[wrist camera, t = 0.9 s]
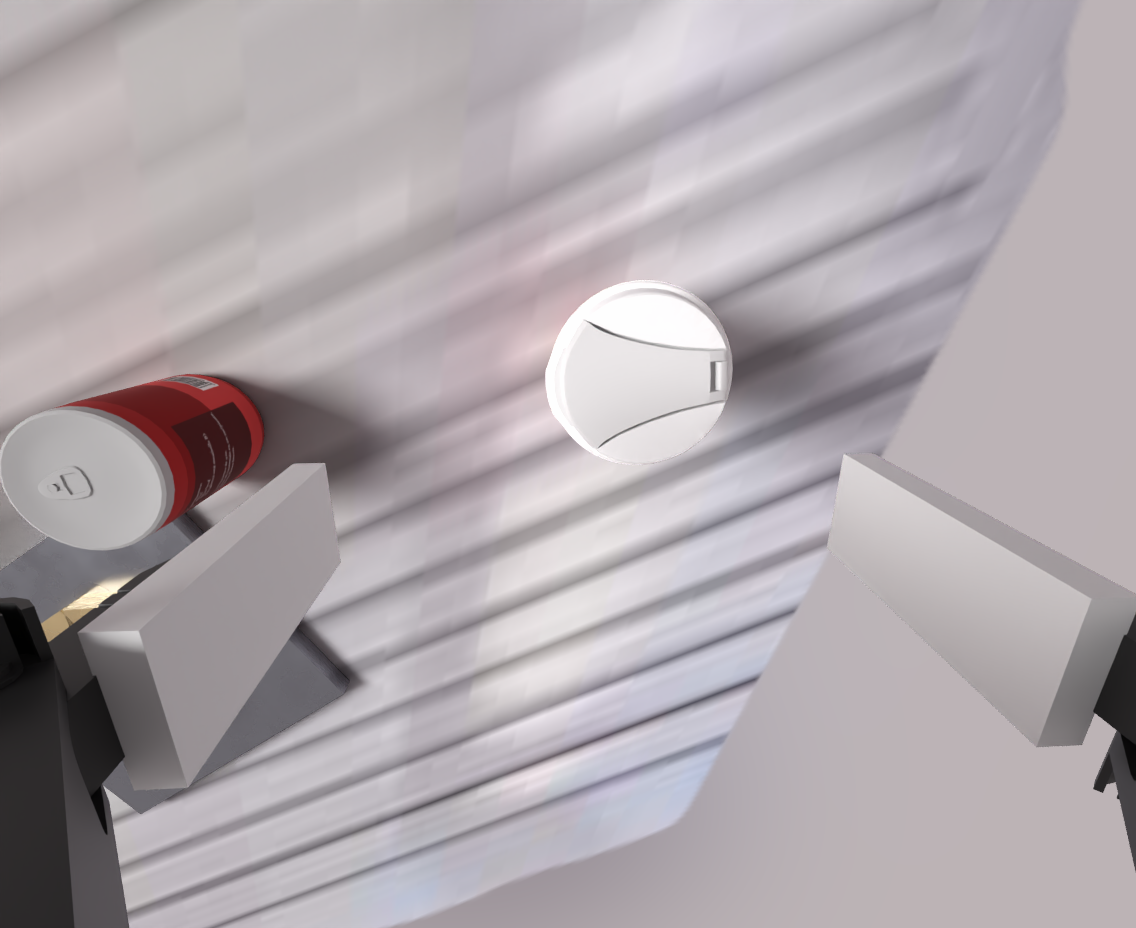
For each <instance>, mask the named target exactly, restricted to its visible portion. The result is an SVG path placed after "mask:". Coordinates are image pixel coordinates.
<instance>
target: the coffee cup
mask: <svg viewBox="0 0 1136 928" xmlns="http://www.w3.org/2000/svg"><path fill="white" fill-rule="evenodd" d="M732 372H733V366H732V353H731V349H730V344H729V340H728V338H727V335H726V333H725V330H724V328H723V326H722V324H721V323H720V321H719V319H718V318H717V316H716V315H715V314H714V312H713V311H712V310H711V309H710V308H709V307H708V305H707V304H706V303H704V302H703V301H702V300H701V299H699V298H698V297H697V296H696V295H694V294H693V293H691V292H689V291H687V290H685V289H684V288H682V287H679V286H676V285H673V284H670V283H667V282H661V281H655V280H636V281H630V282H624V283H620V284H617V285H614V286H611V287H609V288H606V289H605V290H603V291H601V292H599V293H597V294H595V295H594V296H592V297H591V298H590V299H588V300H587V301H586V302H584V303H583V304H582V305H581V306H580V307H579V308H578V309H577V310H576V311H575V312H574V313H573V314H572V315H571V316H570V318H569V319H568V321H567V322H566V324H565V325H564V326H563V328H562V330H561V332H560V334H559V336H558V338H557V340H556V342H555V345H554V348H553V352H552V355H551V358H550V360H549V363H548V366H547V369H546V390H547V396H548V401H549V404H550V407H551V410H552V413H553V414H554V416H555V417H556V418H557V419H558V421H559V422H560V423H561V424H562V425H563V427H564V428H565V429H566V431H567V432H568V433H569V435H570V436H571V437H572V438H573V439H574V440H575V441H576V442H577V443H578V444H579V445H580V446H582V447H583V448H585V449H586V450H588V451H589V452H591V453H592V454H594V455H596V456H598V457H600V458H603V459H605V460H608V461H612V462H615V463H620V464H627V465H646V464H652V463H657V462H661V461H664V460H667V459H670V458H673V457H676V456H678V455H680V454H682V453H684V452H686V451H687V450H689V449H690V448H692V447H693V446H695V445H696V444H697V443H698V442H699V441H700V440H702V439H703V438H704V437H705V436H706V435H707V434H708V432H709V431H710V430H711V429H712V428H713V426H714V425H715V424H716V422H717V420H718V419H719V417H720V415H721V414H722V411H723V409H724V406H725V404H726V401H727V398H728V395H729V391H730V387H731V382H732Z"/></svg>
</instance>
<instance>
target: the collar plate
mask: <svg viewBox="0 0 1136 928" xmlns="http://www.w3.org/2000/svg"><path fill="white" fill-rule="evenodd" d="M203 534H204V532H203V531H202V530H201V529H200V528H199V527H198V526H197V525H196V524H195V523H194V522H193V521H192V520H191V519H190V518H189V517H188V516H187V515H186V514H185V513H184V514H183V515H181V516H180V517H178V518H177V519H175V520H174V521H172V522H171V523H169V524H168V525H166V526H164V527H163V528H161V529H159V530H158V531H156V532H155V533H153V534H152V535H150V536H148V537H146V538H145V539H143V540H141V541H138V542H136V543H135V544H132V545H129V546H126V547H123V548H119V549H112V550H88V549H82V548H77V547H73V546H70V545H67V544H64V543H61V542H58V541H56V540H54V539H52V538H50V537H48V538H46V539H45V540H43V541H42V542H41V543H39V544H38V545H36V546H35V547H33V548H32V549H31V550H29V551H28V552H26V553H25V554H24V555H22V556H21V557H19V558H18V559H16V560H15V561H14V562H12V563H11V564H9V565H8V566H7V567H5V568H4V569H2V570H1V571H0V598H9V597H17V598H23V599H29V600H30V602H31V603H32V604H33V605H34V607H35V610H36V612H37V615H38V617H39V620H40V623H41V625H42V628H43V630H44V633H45V636H46V638H47V641H48V642H50V641H51V640H52V639H54V638H55V637H56V636H58V635H59V634H60V633H61V632H63V631H64V630H65V629H67V628H68V627H69V626H71V625H72V624H73V623H75V622H76V621H77V620H79V619H80V618H81V617H83V616H84V615H85V614H87V613H88V612H89V611H91V610H92V609H93V608H98V607H99V604H100V603H101V602H102V601H104V600H105V599H106V598H108V597H109V596H110V595H112V594H117V590H118V589H120V588H121V587H122V586H124V585H125V584H126V583H128V582H129V581H130V580H132V579H133V578H134V577H136V576H137V575H138V574H140V573H142V572H144V571H146V570H148V569H150V568H152V567H154V566H156V565H158V564H160V563H162V562H164V561H167V560H169V559H172V558H173V557H175V556H176V555H177V554H179V553H180V552H181V551H182V550H184V549H185V548H186V547H187V546H189V545H190V544H191V543H193V542H194V541H195V540H196V539H198V538H199V537H200V536H202V535H203ZM348 684H349V680H348V679H347V678H346V677H345V676H344V675H343V674H342V673H341V672H340V671H339V670H338V669H337V668H336V667H335V666H334V665H333V664H332V663H331V662H330V661H329V659H328V658H327V657H326V656H325V655H324V654H323V653H322V652H321V651H320V650H319V649H318V648H317V647H316V646H315V645H314V644H313V643H312V642H311V641H310V640H309V639H308V638H307V637H306V636H305V635H304V634H303V633H302V632H301V631H300V630H299V629H298V628H296V629H295V630H294V632H293V633H292V635H291V636H290V638H289V639H288V641H287V642H286V644H285V645H284V647H283V648H282V650H281V651H280V653H279V654H278V656H277V657H276V659H275V660H274V661H273V663H272V664H271V666H270V667H269V669H268V670H267V672H266V673H265V675H264V676H263V678H262V679H261V681H260V682H259V684H258V685H257V687H256V688H255V690H254V691H253V693H252V694H251V695H250V697H249V698H248V700H247V701H246V703H245V704H244V706H243V707H242V709H241V710H240V712H239V713H238V715H237V716H236V718H235V719H234V721H233V722H232V724H231V725H230V726H229V728H228V729H227V731H226V732H225V734H224V735H223V737H222V738H221V740H220V741H219V743H218V744H217V746H216V747H215V749H214V750H213V752H212V753H211V755H210V756H209V757H208V759H207V760H206V762H205V763H204V765H203V766H202V768H201V769H200V771H199V772H198V774H197V775H196V777H195V778H194V780H193V781H192V783H191V784H193V783H194V782H196V781H198V780H199V779H201V778H203V777H205V776H206V775H208V774H210V773H211V772H213V771H215V770H216V769H218V768H220V767H221V766H223V765H225V764H226V763H228V762H230V761H232V760H233V759H235V758H237V757H238V756H240V755H242V754H243V753H245V752H247V751H248V750H250V749H252V748H253V747H255V746H257V745H259V744H260V743H262V742H264V741H265V740H267V739H269V738H270V737H272V736H274V735H275V734H277V733H279V732H281V731H282V730H284V729H286V728H287V727H289V726H291V725H292V724H294V723H296V722H297V721H299V720H301V719H302V718H304V717H306V716H308V715H309V714H311V713H313V712H314V711H316V710H318V709H319V708H321V707H323V706H324V705H326V704H328V703H330V702H331V701H333V700H335V699H336V698H338V697H340V696H341V695H343V694H344V692H345V690H346V688H347V686H348ZM102 784H103V786H105V787H106V788H107V789H109V790H110V791H111V792H112V793H114V794H115V795H116V796H118V797H119V798H120V799H122V800H123V801H124V802H125V803H127V804H128V805H129V806H131V807H132V808H133V809H134V810H136V811H137V812H138V813H140V814H142V813H144V812H145V811H147V810H149V809H150V808H152V807H154V806H156V805H157V804H159V803H161V802H162V801H164V800H166V799H167V798H169V797H171V796H172V795H174V794H176V793H177V792H179V791H181V790H183V789H184V788H174V789H153V790H134V789H133V786H132V784H131V781H130V778H129V775H128V772H127V770H126V767H125V764H124V761H123V760H122V761H121V762H120V763H119V765H118V766H117V767H116V768H115V769H114V771H113V772H112V773H111V774H110V775H109V776H108V778H107V779H106V780H105V781H104V782H103V783H102ZM191 784H190V785H191Z"/></svg>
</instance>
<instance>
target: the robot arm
mask: <svg viewBox="0 0 1136 928" xmlns="http://www.w3.org/2000/svg"><path fill="white" fill-rule="evenodd" d="M827 549H828V550H829V551H830V552H831V553H832V554H833V555H834V556H835V557H836V558H837V559H838V560H839V561H841V562H842V563H843V564H844V565H845V566H846V567H847V568H848V569H849V570H850V571H851V572H852V573H853V574H854V575H855V576H856V577H857V578H858V579H860V580H861V581H862V582H863V583H864V584H865V585H866V586H867V587H868V588H869V589H870V590H871V591H872V592H873V593H874V594H875V595H876V596H878V597H879V598H880V599H881V600H882V601H883V602H884V603H885V604H886V605H887V606H888V607H889V608H890V609H891V610H892V611H893V612H894V613H895V614H897V615H898V616H899V617H900V618H901V619H902V620H903V621H904V622H905V623H906V624H907V625H908V626H909V627H910V628H911V629H912V630H913V631H914V632H916V634H918V635H919V636H920V637H921V638H922V639H923V640H924V641H925V642H926V643H927V644H928V645H929V646H930V647H931V648H932V649H933V650H934V651H935V652H937V653H938V654H939V655H940V656H941V657H942V658H943V659H944V660H945V661H946V662H947V663H948V664H949V665H950V666H951V667H952V668H953V669H955V670H956V671H957V672H958V673H959V674H960V675H961V676H962V677H963V678H964V679H965V680H966V681H967V682H968V683H969V684H970V685H971V686H972V687H973V688H975V689H976V690H977V691H978V692H979V693H980V694H981V695H982V696H983V697H984V698H985V699H986V700H987V701H988V702H989V703H990V704H991V705H992V706H994V707H995V708H996V709H997V710H998V711H999V712H1000V713H1001V714H1002V715H1003V716H1004V717H1005V718H1006V719H1007V720H1008V721H1009V722H1010V723H1011V724H1013V725H1014V726H1015V727H1016V728H1017V729H1018V730H1019V731H1020V732H1021V733H1022V734H1023V735H1024V736H1025V737H1026V738H1028V740H1029V741H1030V742H1031V743H1033V744H1034V745H1035V746H1036V747H1049V746H1070V745H1082V743H1083V741H1084V738H1085V736H1086V733H1087V731H1088V728H1089V726H1090V724H1091V721H1092V719H1093V716H1094V714H1095V713H1096V714H1097V715H1098V716H1099V717H1101V718H1102V719H1103V720H1104V721H1106V722H1107V723H1109V724H1110V725H1111V726H1112V727H1113V728H1115V729H1116V730H1117V731H1116V733H1115V736H1114V738H1113V740H1112V743H1111V745H1110V747H1109V750H1108V752H1107V754H1106V757H1105V759H1104V761H1103V764H1102V766H1101V768H1100V770H1099V773H1098V775H1097V777H1096V780H1095V784H1094V788H1093V789H1095V790H1097V791H1100V792H1102V793H1103V791H1104V789H1105V787H1106V784H1110V783H1114V782H1116V785H1117V790H1118V795H1117V799H1119V800H1120V803H1121V808H1122V812H1123V817H1124V821H1125V826H1126V830H1127V835H1128V839H1129V844H1130V848H1131V853H1132V857H1133V862H1134V866H1135V870H1136V594H1135V593H1133V592H1131V591H1129V590H1128V589H1126V588H1124V587H1122V586H1120V585H1118V584H1116V583H1115V582H1113V581H1111V580H1109V579H1107V578H1105V577H1103V576H1101V575H1100V574H1098V573H1096V572H1094V571H1092V570H1090V569H1088V568H1086V567H1085V566H1083V565H1081V564H1079V563H1077V562H1075V561H1073V560H1071V559H1069V558H1068V557H1066V556H1064V555H1062V554H1060V553H1058V552H1057V551H1055V550H1053V549H1051V548H1049V547H1047V546H1045V545H1043V544H1042V543H1040V542H1038V541H1036V540H1034V539H1032V538H1030V537H1029V536H1027V535H1025V534H1023V533H1021V532H1019V531H1017V530H1015V529H1014V528H1011V527H1010V526H1008V525H1006V524H1004V523H1002V522H1000V521H999V520H997V519H995V518H993V517H991V516H989V515H987V514H986V513H984V512H982V511H980V510H978V509H976V508H974V507H972V506H971V505H968V504H967V503H965V502H963V501H961V500H959V499H957V498H956V497H954V496H952V495H950V494H948V493H946V492H944V491H942V490H941V489H939V488H937V487H935V486H933V485H931V484H929V483H927V482H926V481H924V480H922V479H920V478H918V477H916V476H914V475H913V474H911V473H909V472H907V471H905V470H903V469H901V468H900V467H898V466H896V465H894V464H892V463H890V462H888V461H886V460H885V459H883V458H881V457H879V456H877V455H875V454H873V453H846V454H844V455H843V461H842V466H841V472H840V478H839V483H838V489H837V494H836V500H835V506H834V511H833V517H832V523H831V528H830V534H829V539H828V545H827ZM340 563H341V559H340V553H339V547H338V540H337V534H336V528H335V521H334V515H333V509H332V502H331V496H330V490H329V484H328V477H327V471H326V465H325V463H298V464H292V465H291V466H290V467H288V468H287V469H286V470H285V471H283V472H282V473H281V474H279V475H278V476H277V477H276V478H274V479H273V480H272V481H270V482H269V483H268V484H267V485H265V486H264V487H263V488H262V489H260V490H259V491H258V492H256V493H255V494H254V495H253V496H251V497H250V498H249V499H247V500H246V501H245V502H244V503H242V504H241V505H240V506H239V507H237V508H236V509H235V510H233V511H232V512H231V513H230V514H228V515H227V516H226V517H225V518H223V519H222V520H221V521H219V522H218V523H217V524H216V525H214V526H213V527H212V528H210V529H209V530H208V531H207V532H205V533H204V534H203V535H202V536H200V537H199V538H198V539H196V540H195V541H194V542H193V543H191V544H190V545H189V546H187V547H186V548H185V549H184V550H182V551H181V552H180V553H179V554H177V555H176V556H175V557H173V558H172V559H169V560H167V561H164V562H162V563H160V564H158V565H156V566H154V567H152V568H150V569H148V570H146V571H144V572H142V573H140V574H138V575H137V576H136V577H134V578H133V579H132V580H130V581H129V582H128V583H126V584H125V585H124V586H122V587H121V588H120V589H118V590H117V594H112V595H110V596H109V597H108V598H106V599H105V600H104V601H102V602H101V603H100V604H99V607H98V608H93V609H92V610H91V611H89V612H88V613H87V614H85V615H84V616H83V617H81V618H80V619H79V620H77V621H76V622H75V623H73V624H72V625H71V626H69V627H68V628H67V629H65V630H64V631H63V632H61V633H60V634H59V635H58V636H56V637H55V638H54V639H52V640H51V641H50V642H48V641H47V638H46V636H45V633H44V630H43V628H42V625H41V623H40V620H39V617H38V615H37V612H36V610H35V607H34V605H33V604H32V603H31V602H30V600H29V599H23V598H17V597H9V598H0V928H129V923H128V917H127V910H126V904H125V898H124V892H123V885H122V879H121V873H120V867H119V860H118V854H117V848H116V841H115V835H114V829H113V823H112V816H111V810H110V804H109V800H108V797H107V795H106V792H105V790H104V787H103V784H102V783H103V782H104V781H105V780H106V779H107V778H108V776H109V775H110V774H111V773H112V772H113V771H114V769H115V768H116V767H117V766H118V765H119V763H120V762H121V761H122V760H123V761H124V764H125V767H126V770H127V772H128V775H129V778H130V781H131V784H132V786H133V789H134V790H153V789H174V788H188V787H189V786H190V784H191V783H192V781H193V780H194V778H195V777H196V775H197V774H198V772H199V771H200V769H201V768H202V766H203V765H204V763H205V762H206V760H207V759H208V757H209V756H210V755H211V753H212V752H213V750H214V749H215V747H216V746H217V744H218V743H219V741H220V740H221V738H222V737H223V735H224V734H225V732H226V731H227V729H228V728H229V726H230V725H231V724H232V722H233V721H234V719H235V718H236V716H237V715H238V713H239V712H240V710H241V709H242V707H243V706H244V704H245V703H246V701H247V700H248V698H249V697H250V695H251V694H252V693H253V691H254V690H255V688H256V687H257V685H258V684H259V682H260V681H261V679H262V678H263V676H264V675H265V673H266V672H267V670H268V669H269V667H270V666H271V664H272V663H273V661H274V660H275V659H276V657H277V656H278V654H279V653H280V651H281V650H282V648H283V647H284V645H285V644H286V642H287V641H288V639H289V638H290V636H291V635H292V633H293V632H294V630H295V629H296V628H297V626H298V625H299V623H300V622H301V620H302V619H303V617H304V616H305V614H306V613H307V611H308V610H309V608H310V607H311V605H312V604H313V602H314V601H315V599H316V598H317V597H318V595H319V594H320V592H321V591H322V589H323V588H324V586H325V585H326V583H327V582H328V580H329V579H330V577H331V576H332V574H333V573H334V571H335V570H336V568H337V567H338V566H339V564H340Z"/></svg>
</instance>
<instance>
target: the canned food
mask: <svg viewBox="0 0 1136 928" xmlns="http://www.w3.org/2000/svg"><path fill="white" fill-rule="evenodd" d="M263 441H264V426H263V422H262V419H261V416H260V414H259V412H258V410H257V408H256V406H255V405H254V404H253V402H252V401H251V400H250V399H249V397H248V396H247V395H245V394H244V393H243V392H242V391H241V390H240V389H238V388H236V387H235V386H233V385H232V384H230V383H228V382H225V381H223V380H220V379H218V378H213V377H209V376H204V375H195V374H185V375H178V376H173V377H169V378H165V379H161V380H158V381H154V382H150V383H146V384H142V385H138V386H134V387H131V388H127V389H123V390H119V391H115V392H111V393H108V394H104V395H100V396H96V397H92V398H88V399H84V400H81V401H77V402H73V403H69V404H67V405H63V406H60V407H56V408H52V409H49V410H47V411H44V412H41V413H38V414H37V415H34V416H31V417H29V418H27V419H26V420H24V421H23V422H21V423H19V424H18V425H17V426H16V427H15V428H14V429H13V430H12V431H11V432H10V433H9V434H8V435H7V437H6V439H5V441H4V443H3V445H2V447H1V451H0V479H1V483H2V487H3V489H4V491H5V493H6V495H7V497H8V499H9V501H10V502H11V504H12V505H13V506H14V508H15V509H16V510H17V512H18V513H19V514H20V515H21V516H22V517H23V518H24V519H25V520H26V521H27V522H28V523H29V524H30V525H32V526H33V527H34V528H36V529H37V530H39V531H40V532H42V533H43V534H45V535H46V536H48V537H50V538H52V539H54V540H56V541H58V542H61V543H64V544H67V545H70V546H73V547H77V548H82V549H88V550H112V549H119V548H123V547H126V546H129V545H132V544H135V543H136V542H138V541H141V540H143V539H145V538H146V537H148V536H150V535H152V534H153V533H155V532H156V531H158V530H159V529H161V528H163V527H164V526H166V525H168V524H169V523H171V522H172V521H174V520H175V519H177V518H178V517H180V516H181V515H183V514H184V513H186V512H187V511H189V510H190V509H192V508H193V507H195V506H196V505H198V504H199V503H200V502H202V501H203V500H205V499H206V498H208V497H209V496H211V495H212V494H214V493H215V492H217V491H218V490H220V489H221V488H223V487H224V486H226V485H227V484H229V483H230V482H232V481H233V480H235V479H236V478H238V477H239V476H241V475H242V474H244V473H245V472H246V471H247V470H248V469H249V468H250V467H251V466H252V465H253V464H254V462H255V461H256V459H257V458H258V456H259V454H260V451H261V448H262V446H263Z"/></svg>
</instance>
